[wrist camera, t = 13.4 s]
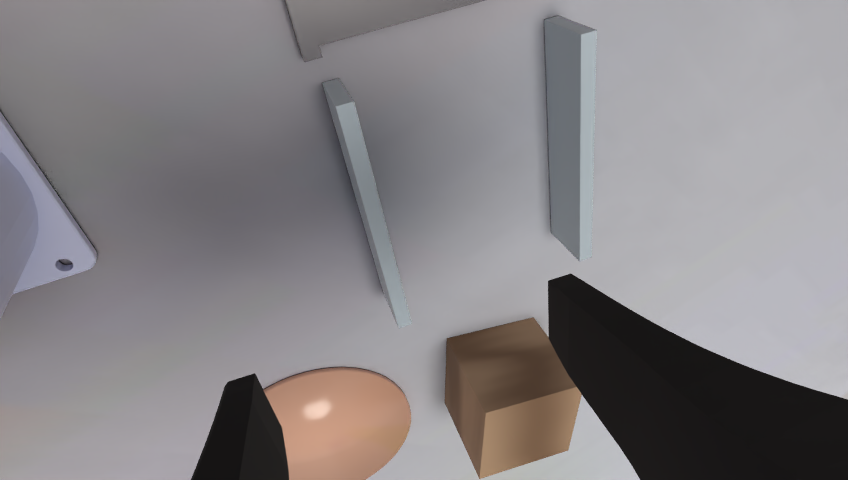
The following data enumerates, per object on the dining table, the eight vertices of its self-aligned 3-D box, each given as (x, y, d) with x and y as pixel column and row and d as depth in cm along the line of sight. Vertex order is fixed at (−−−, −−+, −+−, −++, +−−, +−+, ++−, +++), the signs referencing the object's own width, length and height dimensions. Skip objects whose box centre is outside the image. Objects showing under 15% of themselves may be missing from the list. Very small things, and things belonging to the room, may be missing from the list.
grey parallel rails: (383, 292, 25) (398, 328, 23) (322, 82, 19) (335, 106, 17) (562, 228, 26) (591, 257, 24) (558, 15, 20) (596, 30, 18)
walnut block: (444, 401, 30) (479, 478, 26) (446, 337, 28) (485, 412, 24) (523, 379, 32) (568, 450, 28) (532, 316, 29) (583, 384, 25)
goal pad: (259, 520, 31) (260, 525, 30) (183, 416, 25) (183, 421, 24) (423, 452, 32) (424, 456, 32) (388, 340, 26) (390, 344, 26)
